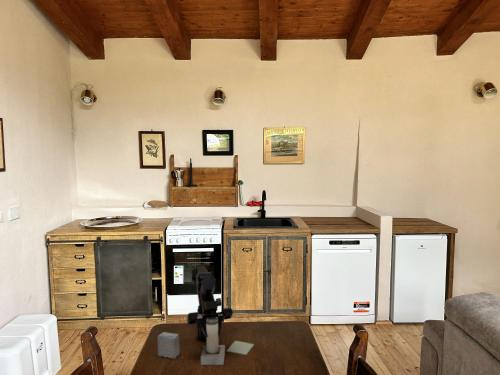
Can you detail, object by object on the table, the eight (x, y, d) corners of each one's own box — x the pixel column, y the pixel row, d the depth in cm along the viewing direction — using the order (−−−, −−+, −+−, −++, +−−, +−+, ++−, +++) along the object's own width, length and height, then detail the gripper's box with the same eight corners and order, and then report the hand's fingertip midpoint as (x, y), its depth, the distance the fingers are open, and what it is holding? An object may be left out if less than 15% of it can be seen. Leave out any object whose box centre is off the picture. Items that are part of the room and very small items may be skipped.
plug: (204, 352, 145) (203, 321, 145) (210, 346, 150) (209, 316, 149) (215, 354, 144) (214, 323, 143) (220, 348, 148) (220, 318, 147)
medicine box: (179, 354, 151) (179, 334, 151) (174, 359, 147) (173, 338, 146) (163, 351, 154) (163, 331, 153) (157, 356, 150) (157, 336, 149)
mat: (226, 351, 153) (226, 350, 153) (235, 341, 161) (235, 340, 161) (246, 355, 150) (246, 354, 150) (253, 345, 158) (253, 344, 158)
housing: (203, 353, 151) (203, 345, 151) (225, 353, 151) (224, 345, 151) (200, 365, 142) (200, 356, 142) (223, 364, 142) (223, 356, 142)
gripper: (187, 294, 146) (191, 332, 137) (231, 289, 152) (238, 325, 142) (185, 306, 154) (189, 342, 144) (227, 300, 160) (234, 335, 150)
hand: (213, 336), depth 145 cm, fingers closed on plug, 5 cm apart
